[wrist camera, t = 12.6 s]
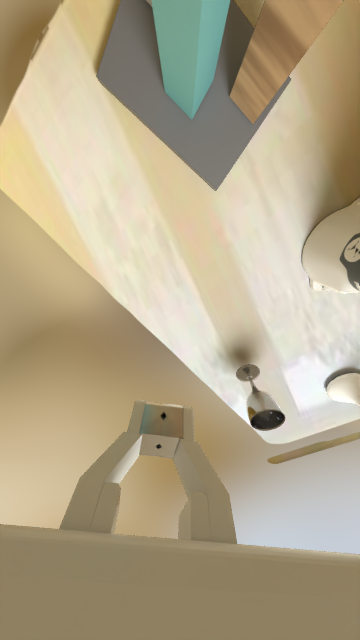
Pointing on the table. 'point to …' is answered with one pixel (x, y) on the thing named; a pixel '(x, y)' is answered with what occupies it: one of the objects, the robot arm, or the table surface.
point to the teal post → (189, 47)
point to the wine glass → (260, 402)
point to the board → (161, 111)
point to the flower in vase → (345, 388)
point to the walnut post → (277, 49)
